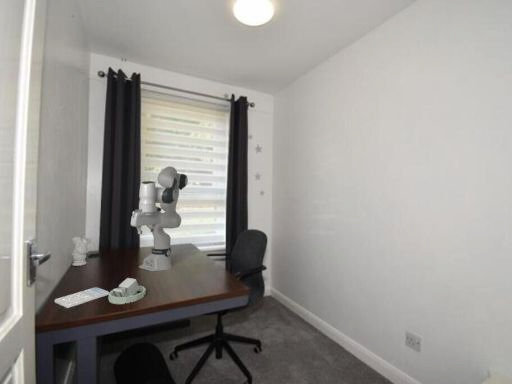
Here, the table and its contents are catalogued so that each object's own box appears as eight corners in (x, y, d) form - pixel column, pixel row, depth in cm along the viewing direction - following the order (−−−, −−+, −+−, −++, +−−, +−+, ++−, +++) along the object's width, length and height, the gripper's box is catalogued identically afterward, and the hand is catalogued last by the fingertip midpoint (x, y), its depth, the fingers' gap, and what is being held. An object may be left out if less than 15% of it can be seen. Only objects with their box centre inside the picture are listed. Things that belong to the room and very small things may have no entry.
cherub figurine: (68, 264, 183) (69, 234, 184) (85, 260, 195) (86, 232, 195) (79, 267, 179) (80, 236, 179) (96, 262, 190) (97, 233, 190)
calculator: (53, 302, 123) (53, 298, 123) (96, 289, 140) (96, 286, 140) (67, 309, 116) (67, 305, 116) (110, 294, 134) (110, 291, 134)
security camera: (125, 302, 125) (140, 288, 134) (121, 292, 122) (136, 278, 131) (116, 300, 127) (130, 286, 136) (111, 290, 125) (127, 276, 133)
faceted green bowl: (100, 300, 125) (101, 294, 125) (128, 289, 140) (128, 283, 140) (126, 306, 119) (126, 300, 119) (151, 294, 135) (152, 288, 135)
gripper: (137, 210, 134) (136, 235, 134) (163, 208, 154) (162, 231, 154) (128, 209, 137) (127, 234, 136) (155, 208, 156) (154, 230, 156)
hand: (146, 232), depth 145 cm, fingers open, 8 cm apart
